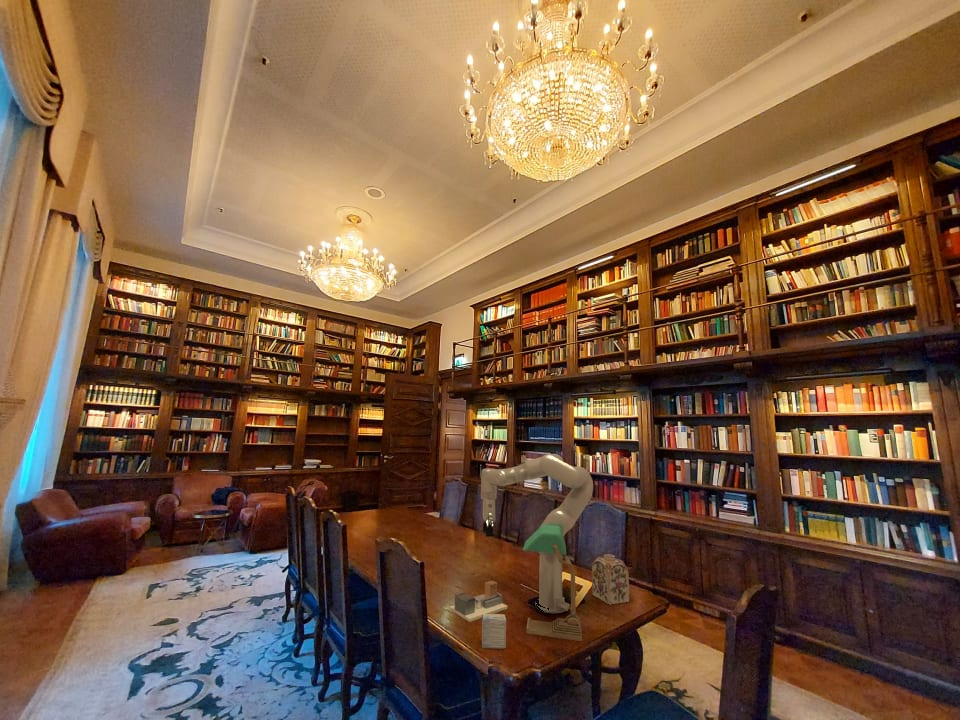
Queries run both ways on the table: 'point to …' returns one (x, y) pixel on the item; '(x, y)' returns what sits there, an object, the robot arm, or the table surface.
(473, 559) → the table surface
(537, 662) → the table surface
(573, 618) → the banker's lamp
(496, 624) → the medicine box
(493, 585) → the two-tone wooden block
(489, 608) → the board
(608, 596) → the decorative jar
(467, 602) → the socket
